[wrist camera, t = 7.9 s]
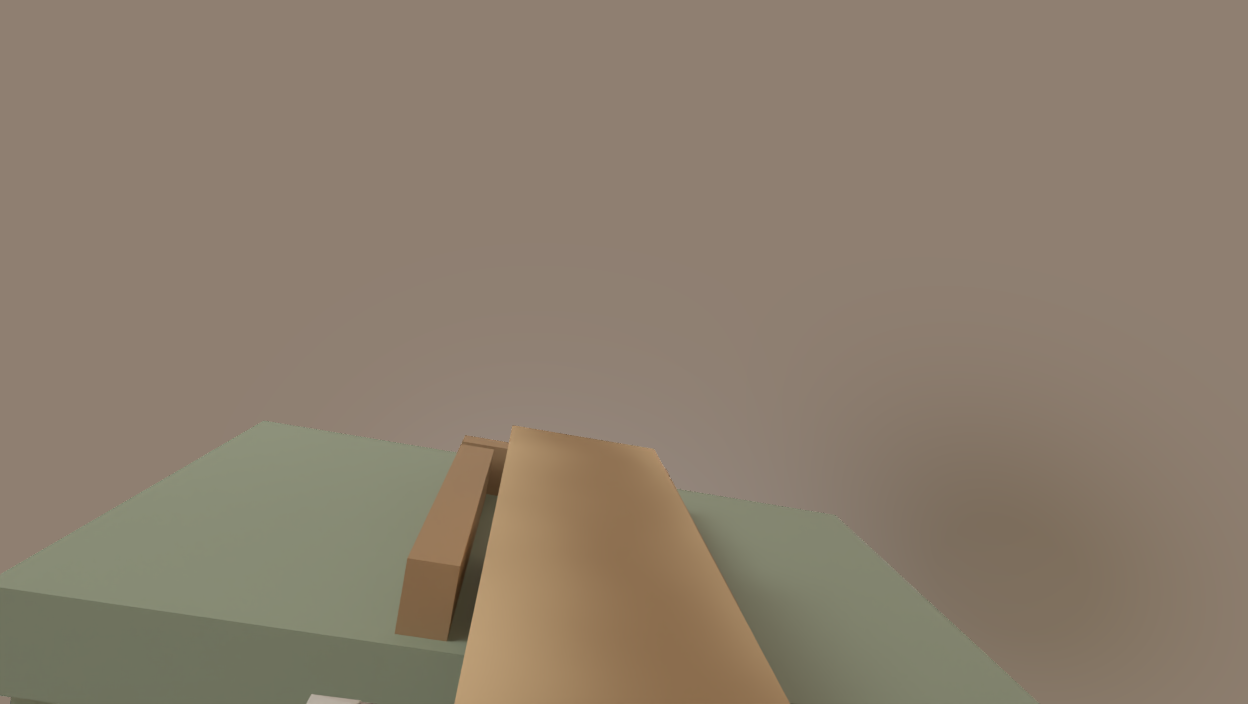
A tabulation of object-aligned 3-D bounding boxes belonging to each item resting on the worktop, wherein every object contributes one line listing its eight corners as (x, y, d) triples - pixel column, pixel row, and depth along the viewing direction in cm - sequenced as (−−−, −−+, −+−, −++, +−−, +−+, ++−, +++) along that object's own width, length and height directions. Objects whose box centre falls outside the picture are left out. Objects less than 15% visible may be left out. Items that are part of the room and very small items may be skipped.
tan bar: (313, 1450, 6) (393, 987, 6) (491, 544, 24) (512, 425, 23) (874, 1485, 6) (976, 1051, 6) (631, 566, 24) (654, 449, 24)
